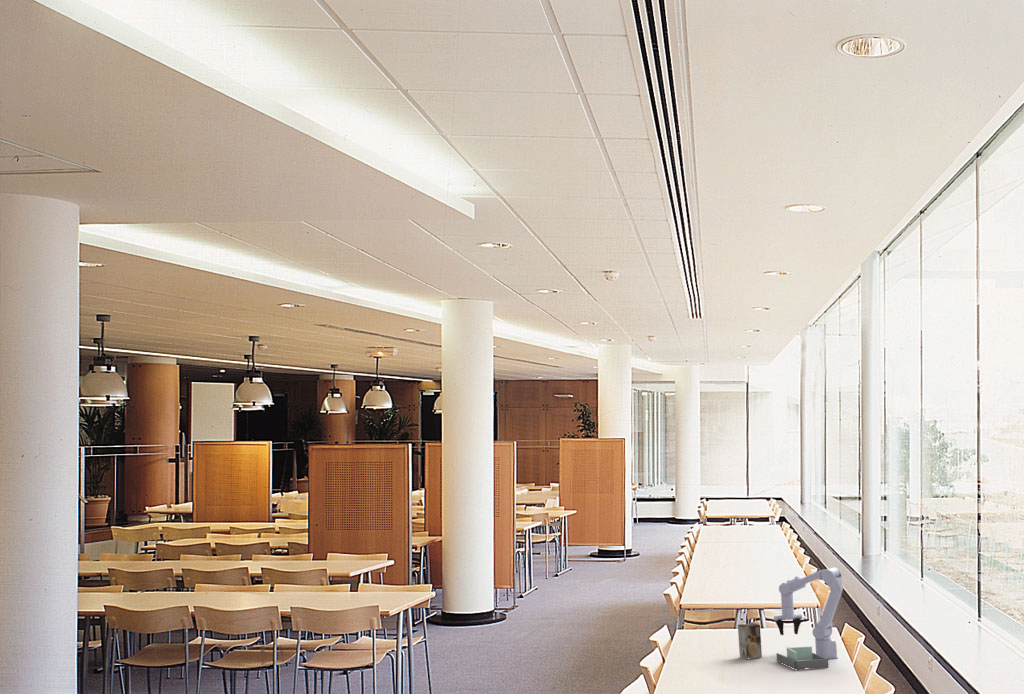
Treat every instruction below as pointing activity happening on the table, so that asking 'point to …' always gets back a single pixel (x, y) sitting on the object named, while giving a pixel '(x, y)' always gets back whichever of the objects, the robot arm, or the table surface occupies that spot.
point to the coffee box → (749, 640)
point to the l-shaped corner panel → (799, 653)
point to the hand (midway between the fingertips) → (789, 634)
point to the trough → (804, 662)
